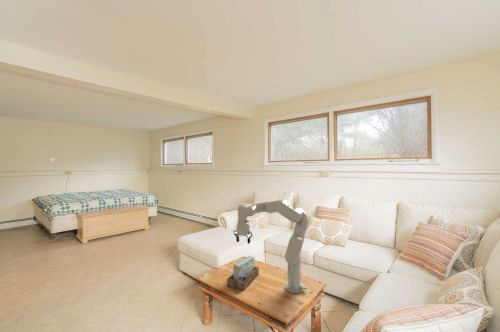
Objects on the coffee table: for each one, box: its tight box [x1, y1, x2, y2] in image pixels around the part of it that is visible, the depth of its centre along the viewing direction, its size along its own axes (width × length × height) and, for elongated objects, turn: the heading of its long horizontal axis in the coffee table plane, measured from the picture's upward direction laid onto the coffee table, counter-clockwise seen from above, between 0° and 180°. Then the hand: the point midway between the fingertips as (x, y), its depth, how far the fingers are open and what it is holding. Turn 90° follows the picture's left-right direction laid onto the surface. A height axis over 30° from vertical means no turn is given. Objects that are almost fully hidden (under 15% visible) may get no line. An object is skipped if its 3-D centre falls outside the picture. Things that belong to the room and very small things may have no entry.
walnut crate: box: [227, 266, 260, 292], centre depth 186 cm, size 14×27×6 cm, turn 154°
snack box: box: [232, 255, 255, 282], centre depth 186 cm, size 21×6×15 cm, turn 144°
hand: (243, 242), depth 186 cm, fingers open, 9 cm apart
